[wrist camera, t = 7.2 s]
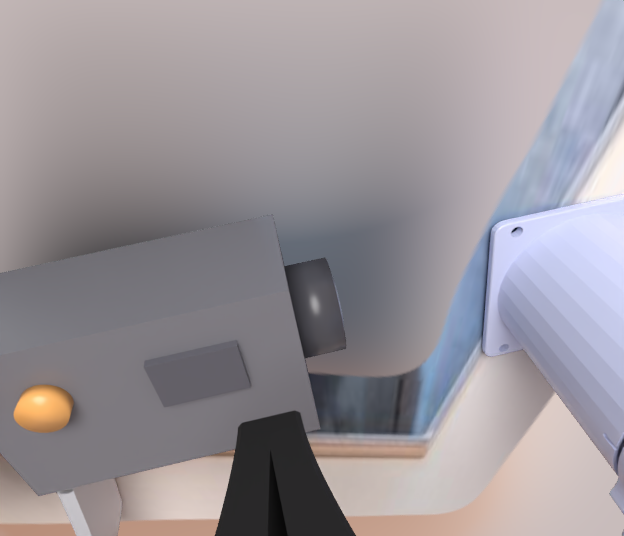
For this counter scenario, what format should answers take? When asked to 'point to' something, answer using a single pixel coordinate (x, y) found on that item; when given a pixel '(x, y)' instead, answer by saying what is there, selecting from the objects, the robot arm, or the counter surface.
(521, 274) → the robot arm
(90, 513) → the side door
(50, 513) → the counter surface
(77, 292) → the block
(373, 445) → the counter surface
